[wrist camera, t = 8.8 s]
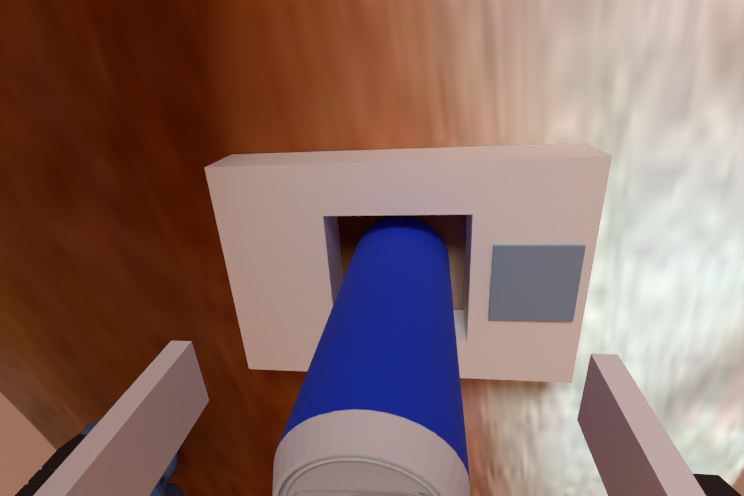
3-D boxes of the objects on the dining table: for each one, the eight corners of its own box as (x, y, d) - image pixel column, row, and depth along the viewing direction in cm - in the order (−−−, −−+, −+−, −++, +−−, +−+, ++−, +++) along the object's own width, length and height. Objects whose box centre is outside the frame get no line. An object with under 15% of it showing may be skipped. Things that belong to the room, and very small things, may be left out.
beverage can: (372, 302, 25) (305, 588, 11) (344, 225, 23) (224, 457, 10) (457, 285, 24) (494, 581, 10) (435, 202, 22) (443, 430, 8)
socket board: (231, 154, 22) (202, 168, 19) (586, 142, 20) (613, 156, 17) (267, 338, 27) (247, 371, 24) (555, 347, 25) (572, 385, 22)
